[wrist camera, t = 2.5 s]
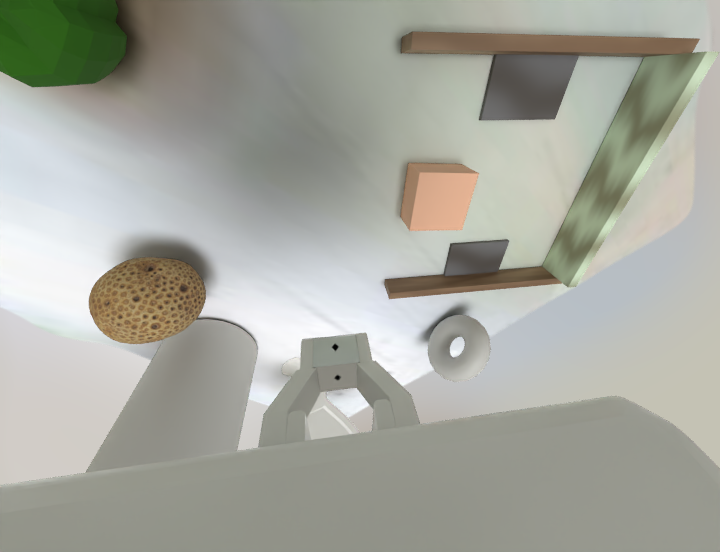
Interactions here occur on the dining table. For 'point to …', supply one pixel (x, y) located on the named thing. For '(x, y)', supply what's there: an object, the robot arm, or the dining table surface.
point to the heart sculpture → (323, 412)
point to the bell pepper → (60, 41)
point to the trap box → (542, 101)
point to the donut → (472, 354)
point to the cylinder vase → (185, 399)
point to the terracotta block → (437, 196)
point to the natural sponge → (147, 299)
